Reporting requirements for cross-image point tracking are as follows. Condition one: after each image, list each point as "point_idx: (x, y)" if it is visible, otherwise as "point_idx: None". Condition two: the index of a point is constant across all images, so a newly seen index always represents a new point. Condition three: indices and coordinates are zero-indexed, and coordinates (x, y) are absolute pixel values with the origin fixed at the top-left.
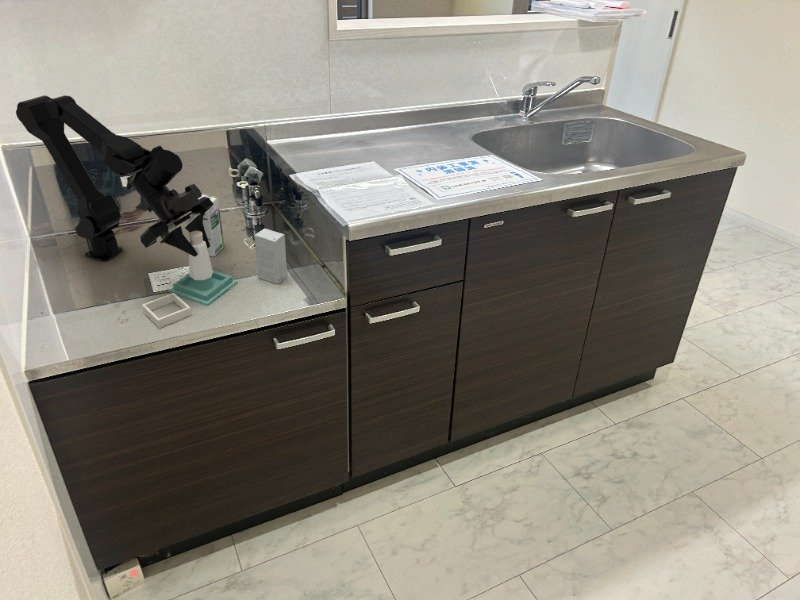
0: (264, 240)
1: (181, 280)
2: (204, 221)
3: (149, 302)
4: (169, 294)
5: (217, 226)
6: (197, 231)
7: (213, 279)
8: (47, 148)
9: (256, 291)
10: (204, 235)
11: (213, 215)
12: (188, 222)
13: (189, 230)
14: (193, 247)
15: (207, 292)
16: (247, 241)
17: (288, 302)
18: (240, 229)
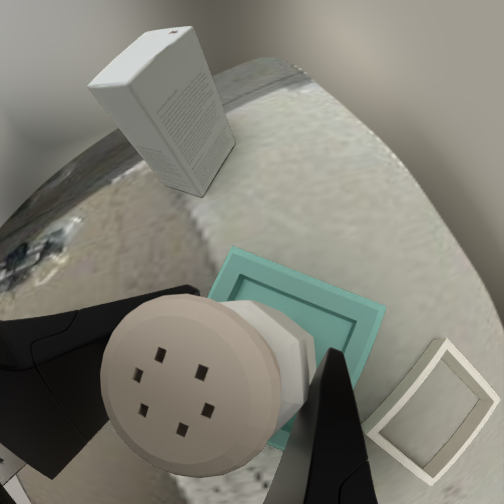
0: (166, 58)
1: (278, 436)
2: None
3: (422, 474)
4: (378, 443)
5: None
6: (123, 372)
7: None
8: None
9: (276, 183)
10: (118, 316)
11: None
12: (8, 457)
13: (67, 451)
14: (320, 388)
15: (354, 313)
16: (43, 275)
17: (313, 110)
18: (11, 302)
